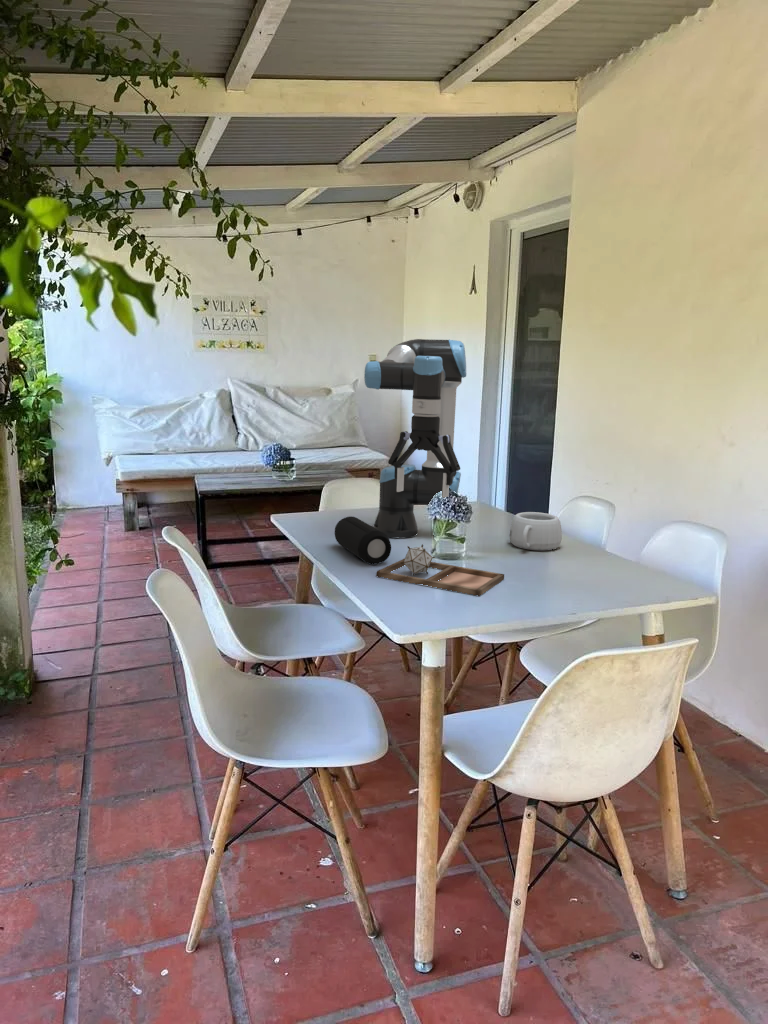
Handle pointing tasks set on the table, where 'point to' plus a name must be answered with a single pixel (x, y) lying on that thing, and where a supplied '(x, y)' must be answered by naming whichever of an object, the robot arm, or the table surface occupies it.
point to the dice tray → (449, 578)
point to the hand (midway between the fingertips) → (422, 494)
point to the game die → (417, 560)
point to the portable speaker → (363, 540)
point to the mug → (536, 531)
